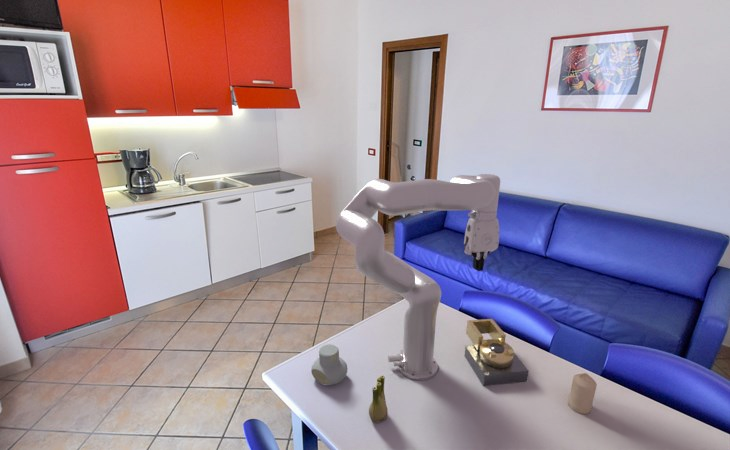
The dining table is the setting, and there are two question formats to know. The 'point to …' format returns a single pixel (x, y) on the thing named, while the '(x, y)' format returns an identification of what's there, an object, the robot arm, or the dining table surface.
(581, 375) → the candle
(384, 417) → the fennel bulb
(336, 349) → the air freshener
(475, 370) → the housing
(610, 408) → the dining table surface
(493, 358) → the brass mechanical fitting
